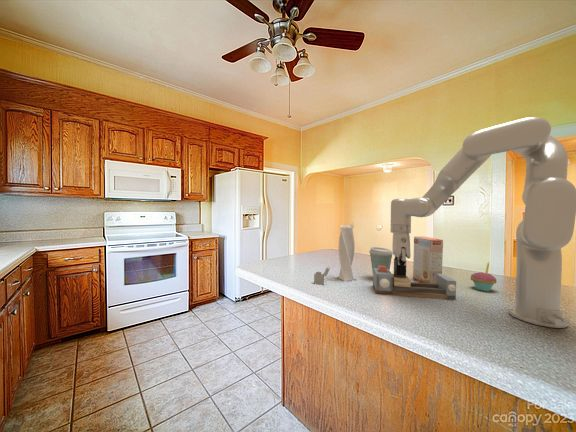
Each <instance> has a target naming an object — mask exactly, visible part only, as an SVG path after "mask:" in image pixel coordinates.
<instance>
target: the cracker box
mask: <svg viewBox="0 0 576 432" xmlns="http://www.w3.org/2000/svg"><path fill="white" fill-rule="evenodd" d="M443 248H444V240H443V239H439V238H434V237H428V236H413V262H412V263H413V266H412V268H413V269H412V279H414V280H416V281H417V282H418V283H429V284H436V274H443V253H444V252H443V251H444V249H443Z"/></svg>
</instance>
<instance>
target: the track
mask: <svg viewBox="0 0 576 432" xmlns="http://www.w3.org/2000/svg"><path fill="white" fill-rule="evenodd" d="M372 287H373V289H374V292H375V294H376V295H385V296H386V295H388V296H399V297H412V298H413V297H415V298H426V299H427V298H428V299H440V300H452V299H453V297H454V300H453V301H456V300H457V295H456V296H453V297H452V296H451V295H448V299H447V295H446V290H444V289H438V284H429V283H421V282H411V287H397V286H393V291H383V290H376V288H375V286H374V285H373V284H372ZM376 291H377V293H376ZM378 292H379V294H378ZM387 292H388V293H389V294H388V293H387ZM380 293H381V294H380ZM382 293H383V294H382ZM386 293H387V294H386ZM390 293H392V295H390ZM449 296H450V298H449ZM451 297H452V299H451Z"/></svg>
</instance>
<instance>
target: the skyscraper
mask: <svg viewBox="0 0 576 432" xmlns="http://www.w3.org/2000/svg"><path fill="white" fill-rule="evenodd" d="M339 229H340V230H339V231H340V233H339V238H338V257H339V258H338V260H339V264H340V270H339V273H338V276H337V277H336V279H338V278H339V280H340V279H341V281H343V282H345V281H346V282H352V280H354V281H357V280H358V279H356V278H354V274H353V269H352V265H353V261H354V255H355V238H354V230H353V229H354V223H353V222H350V225H349V224H344V225H343V224H341V225H339Z"/></svg>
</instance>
